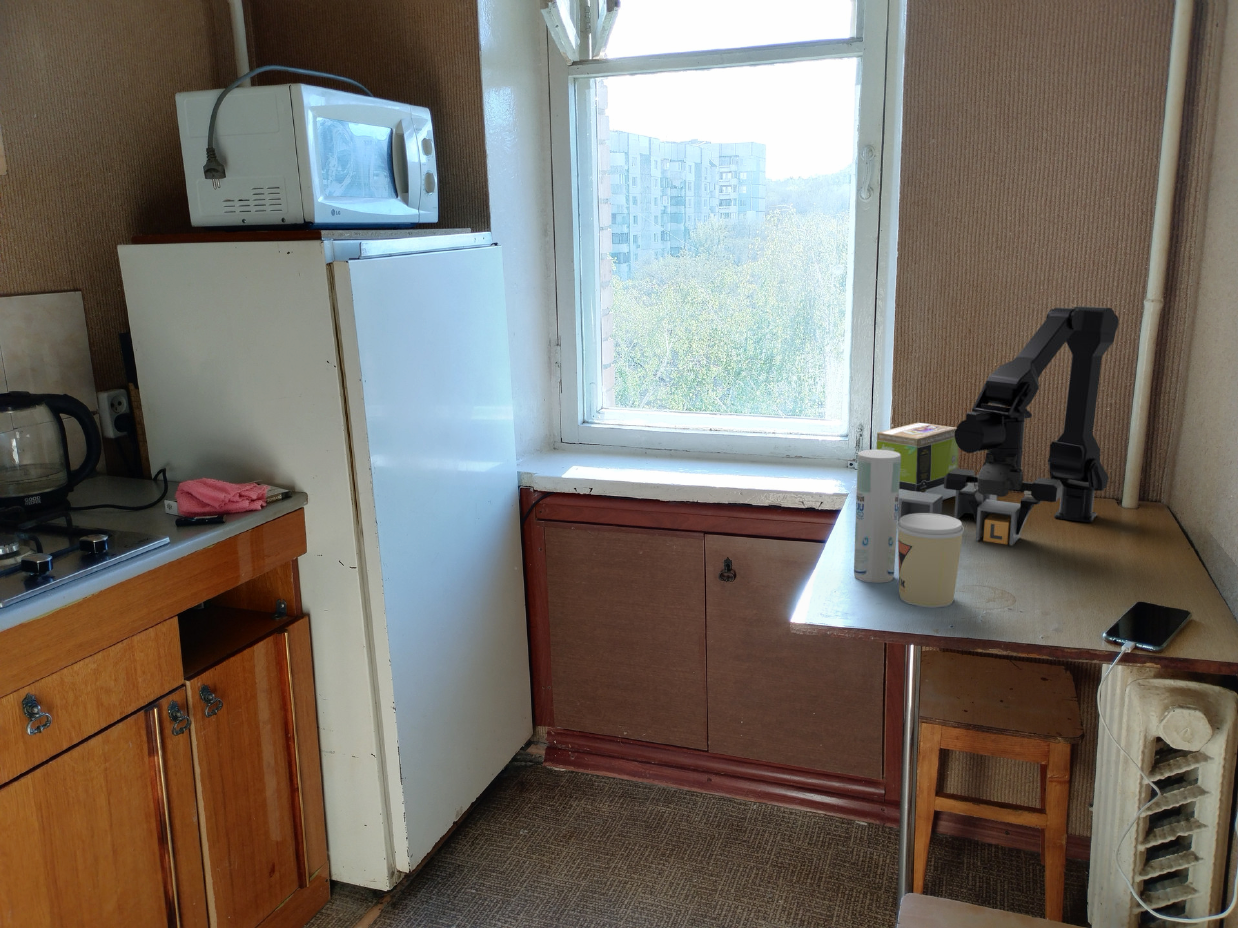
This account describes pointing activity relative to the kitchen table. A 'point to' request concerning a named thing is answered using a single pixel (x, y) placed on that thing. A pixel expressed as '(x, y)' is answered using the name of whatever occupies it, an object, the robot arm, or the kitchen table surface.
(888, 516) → the spray can
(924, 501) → the grey u-shaped block
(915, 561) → the coffee cup
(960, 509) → the open box
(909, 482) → the tea box
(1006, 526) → the orange cube
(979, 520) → the grey bracket
